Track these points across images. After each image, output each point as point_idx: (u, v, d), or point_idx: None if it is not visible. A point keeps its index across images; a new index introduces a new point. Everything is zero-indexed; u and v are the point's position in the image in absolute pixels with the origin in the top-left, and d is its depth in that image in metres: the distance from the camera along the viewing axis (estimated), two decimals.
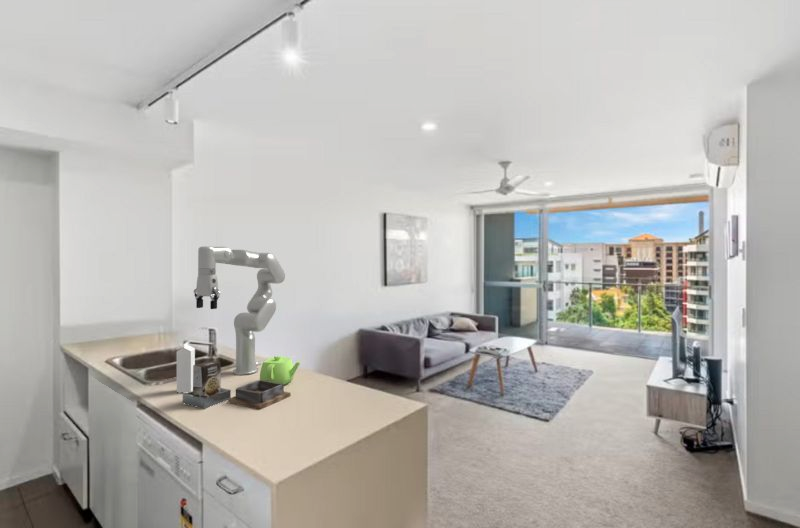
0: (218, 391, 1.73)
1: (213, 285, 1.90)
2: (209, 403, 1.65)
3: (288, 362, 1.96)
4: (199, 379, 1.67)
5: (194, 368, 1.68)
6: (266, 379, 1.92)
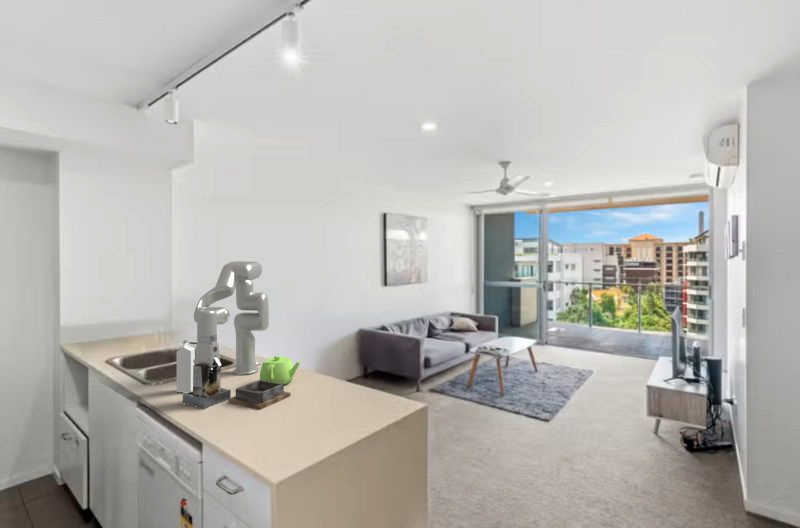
0: (218, 391, 1.73)
1: (214, 354, 1.68)
2: (209, 403, 1.65)
3: (288, 362, 1.96)
4: (199, 379, 1.67)
5: (194, 368, 1.68)
6: (266, 379, 1.92)
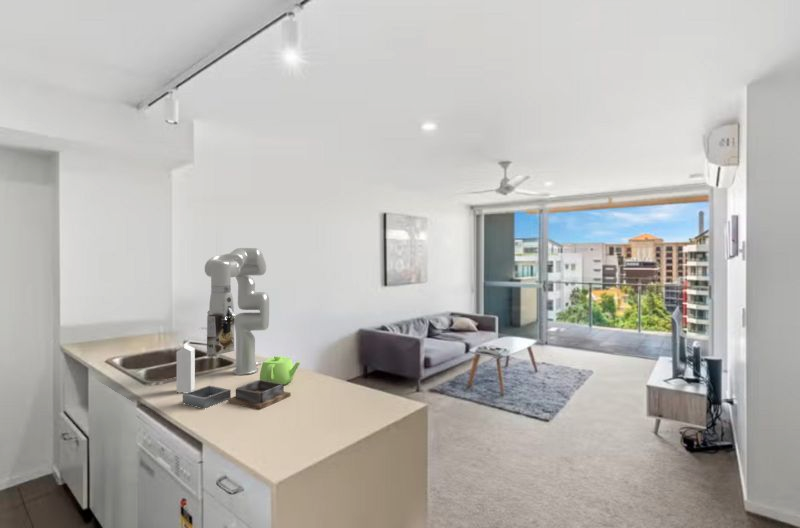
0: (232, 342, 1.73)
1: (228, 305, 1.69)
2: (209, 403, 1.65)
3: (288, 362, 1.96)
4: (213, 328, 1.67)
5: (208, 318, 1.69)
6: (266, 379, 1.92)
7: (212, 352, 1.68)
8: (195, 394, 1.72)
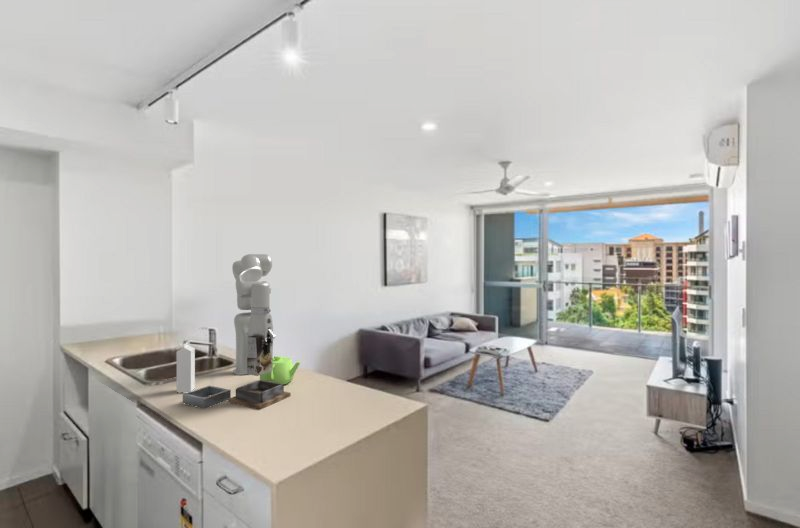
0: (271, 363, 1.75)
1: (268, 326, 1.71)
2: (209, 403, 1.65)
3: (288, 362, 1.96)
4: (253, 350, 1.69)
5: (248, 339, 1.71)
6: (266, 379, 1.92)
7: (253, 373, 1.69)
8: (195, 394, 1.72)
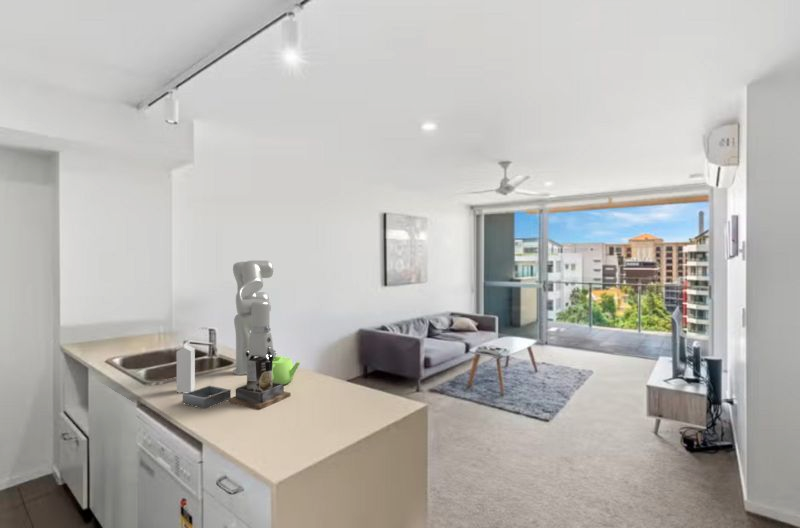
0: (270, 385, 1.76)
1: (268, 345, 1.71)
2: (209, 403, 1.65)
3: (288, 362, 1.96)
4: (253, 373, 1.70)
5: (248, 363, 1.71)
6: None
7: None
8: (195, 394, 1.72)
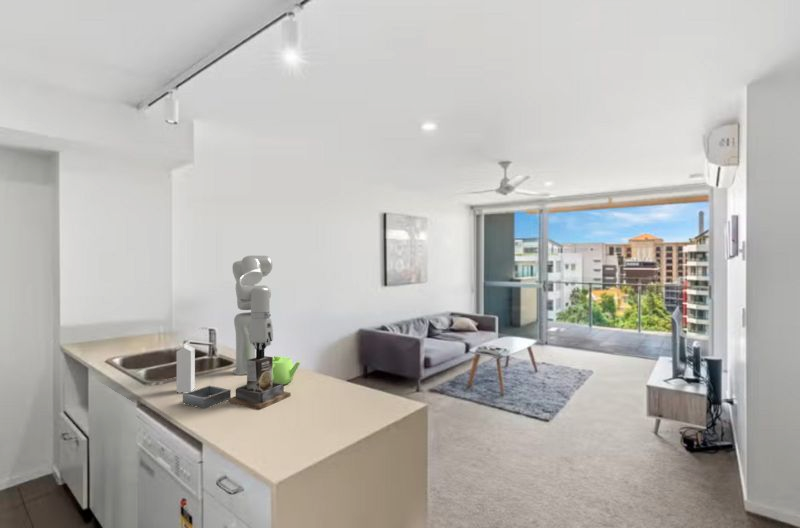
0: (270, 385, 1.76)
1: (268, 330, 1.71)
2: (209, 403, 1.65)
3: (288, 362, 1.96)
4: (253, 373, 1.70)
5: (248, 363, 1.71)
6: None
7: None
8: (195, 394, 1.72)
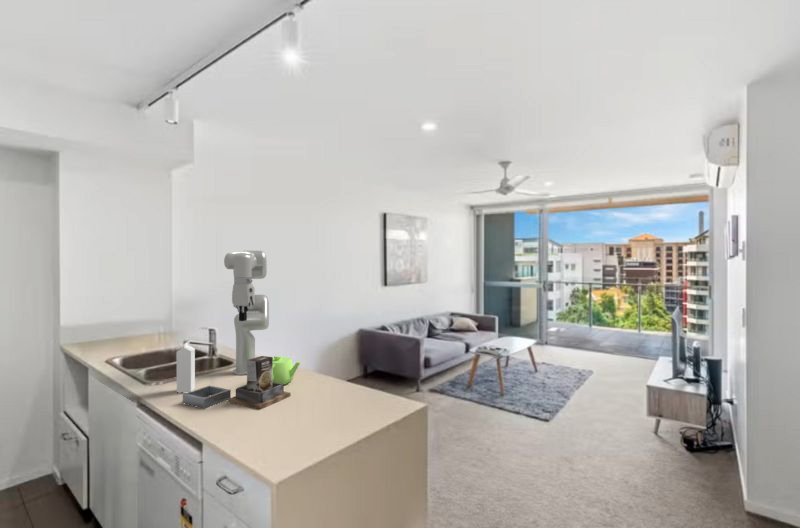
0: (270, 385, 1.76)
1: (250, 295, 1.85)
2: (209, 403, 1.65)
3: (288, 362, 1.96)
4: (253, 373, 1.70)
5: (248, 363, 1.71)
6: None
7: None
8: (195, 394, 1.72)
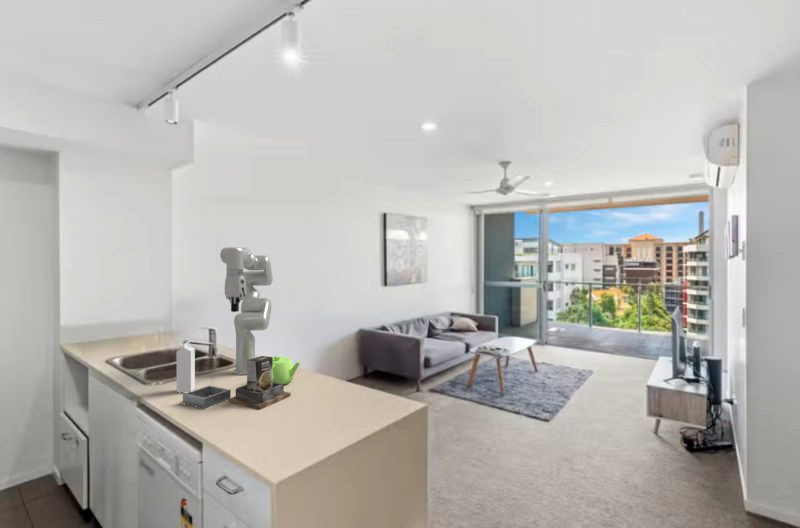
0: (270, 385, 1.76)
1: (241, 286, 1.91)
2: (209, 403, 1.65)
3: (288, 362, 1.96)
4: (253, 373, 1.70)
5: (248, 363, 1.71)
6: None
7: None
8: (195, 394, 1.72)
